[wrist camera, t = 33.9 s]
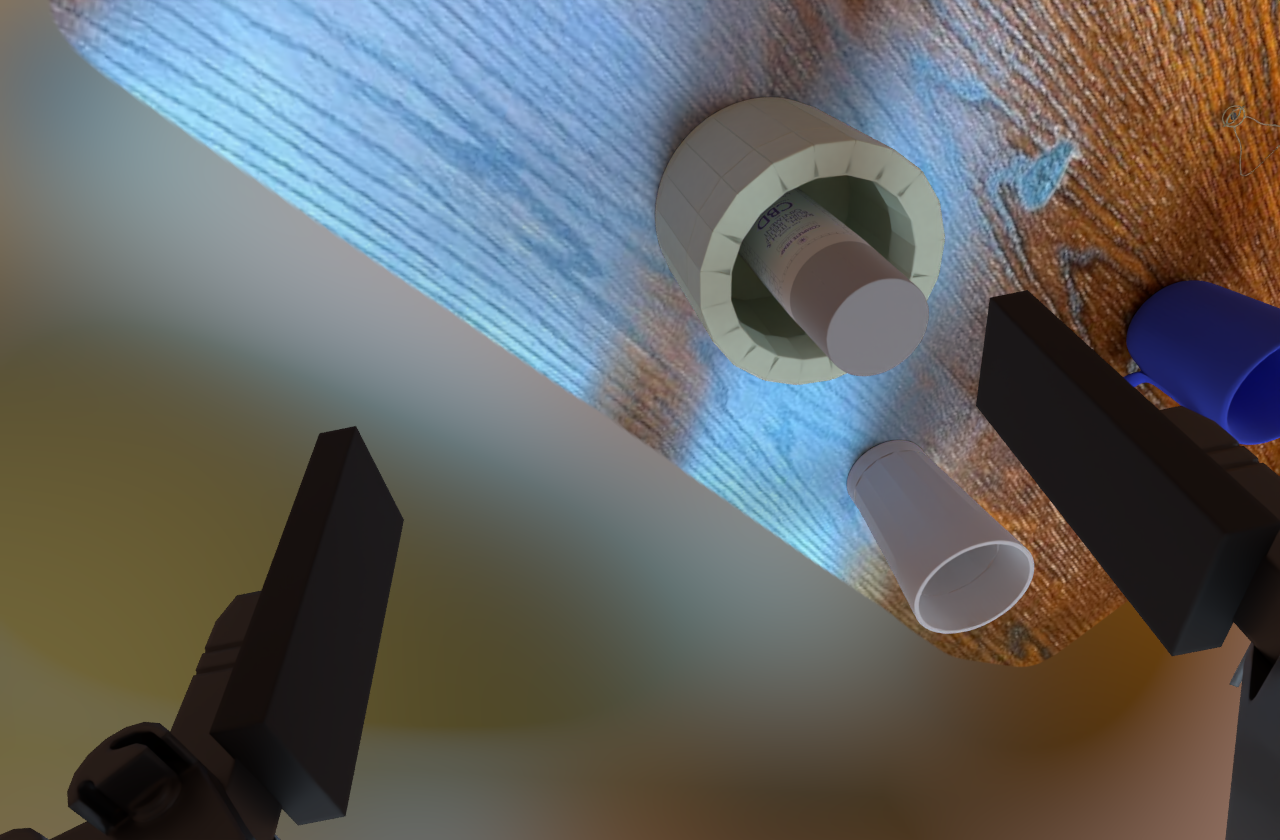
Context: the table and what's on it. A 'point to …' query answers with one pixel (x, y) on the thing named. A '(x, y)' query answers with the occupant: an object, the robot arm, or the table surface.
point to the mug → (1212, 356)
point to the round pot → (751, 182)
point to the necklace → (1234, 117)
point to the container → (835, 286)
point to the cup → (938, 539)
